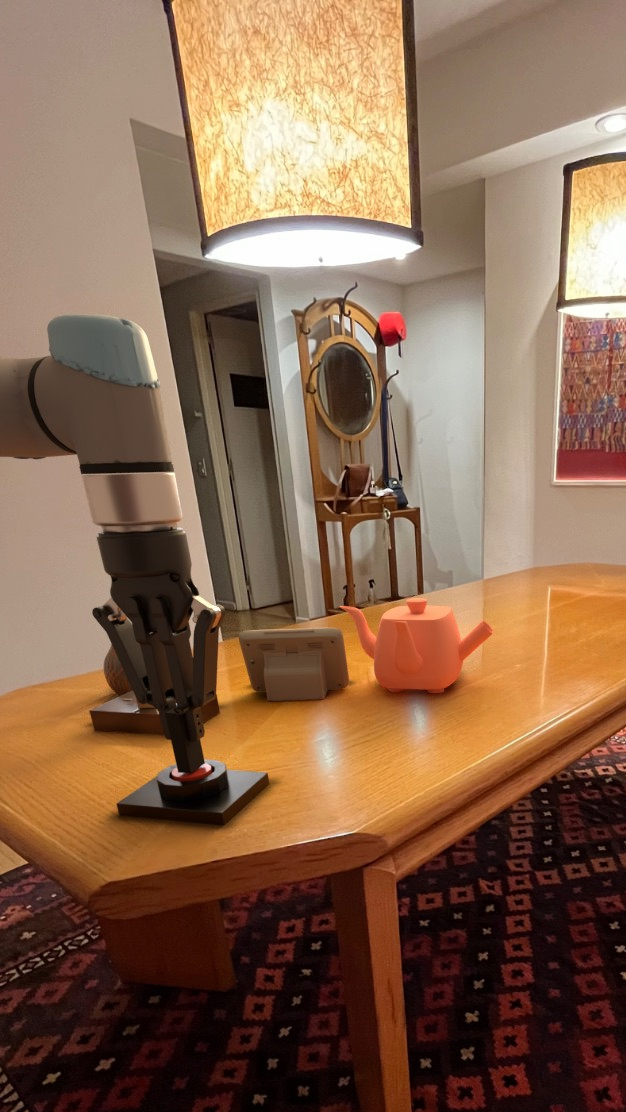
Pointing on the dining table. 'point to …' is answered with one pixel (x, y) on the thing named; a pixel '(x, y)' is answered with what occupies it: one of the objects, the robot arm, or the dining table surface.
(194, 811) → the button block
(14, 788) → the dining table surface
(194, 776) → the button
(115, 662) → the vase
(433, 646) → the teapot
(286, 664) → the digital clock
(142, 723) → the panel
